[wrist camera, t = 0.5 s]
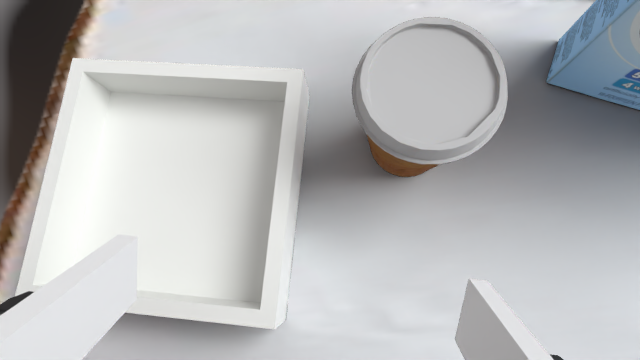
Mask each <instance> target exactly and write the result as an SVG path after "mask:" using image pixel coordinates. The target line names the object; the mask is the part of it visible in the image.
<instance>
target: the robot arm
mask: <svg viewBox="0 0 640 360" xmlns="http://www.w3.org/2000/svg"><path fill="white" fill-rule="evenodd" d="M137 252H138V237H135V236H127V235H119V234H118V235H117V236H115V237H114V238H112V239H111V240H109V241H108V242H107V243H105V244H104V245H102V246H101V247H99V248H98V249H96V250H95V251H94V252H92V253H91V254H89V255H88V256H86V257H85V258H83V259H82V260H80V261H79V262H78V263H76V264H75V265H73V266H72V267H70V268H69V269H67V270H66V271H64V272H63V273H62V274H60V275H59V276H57V277H56V278H54V279H53V280H51V281H50V282H48V283H47V284H46V285H44V286H43V287H41V288H40V289H38V290H37V291H35V292H32V291H28V292H25V293H23V294H20V295H18V296H15V297H13V298H10V299H8V300H7V301H5V302H4V303H2V304H0V360H82V359H83V358H84V357H85V356H86V355H87V353H88V352H89V351H90V350H91V349H92V348H93V347H94V346H95V345H96V344H97V343H98V341H99V340H100V339H101V338H102V337H103V336H104V335H105V334H106V333H107V332H108V331H109V329H110V328H111V327H112V326H113V325H114V324H115V323H116V322H117V321H118V320H119V318H120V317H121V316H122V315H123V314H124V313H125V312H126V311H127V310H128V309H129V308H130V306H131V305H132V304H133V303H134V302H135V301H136V300H137ZM455 341H456V343H457V345H458V347H459V349H460V351H461V353H462V355H463V357H464V359H465V360H563V359H562V358H561V357H559V356H558V355H550V354H549V353H548V352H547V351H546V350H545V349H544V347H543V346H542V345H541V344H540V343H539V341H538V340H537V339H536V338H535V337H534V335H533V334H532V333H531V332H530V330H529V329H528V328H527V327H526V326H525V324H524V323H523V322H522V321H521V320H520V318H519V317H518V316H517V315H516V314H515V312H514V311H513V310H512V309H511V308H510V306H509V305H508V304H507V303H506V302H505V300H504V299H503V298H502V297H501V296H500V294H499V293H498V292H497V291H496V290H495V288H494V287H493V286H492V285H491V284H490V282H489V281H487V280H479V279H471V278H469V280H468V284H467V288H466V293H465V297H464V301H463V306H462V310H461V314H460V319H459V323H458V327H457V332H456V336H455Z"/></svg>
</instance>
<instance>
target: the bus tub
mask: <svg viewBox="0 0 640 360" xmlns="http://www.w3.org/2000/svg"><path fill="white" fill-rule="evenodd" d="M309 98H310V94H309V90H308V86H307V82H306V78H305V74H304V69H289V68H268V67H247V66H227V65H206V64H185V63H165V62H144V61H123V60H102V59H82V58H73V59H72V64H71V68H70V72H69V76H68V80H67V84H66V88H65V92H64V96H63V101H62V105H61V109H60V113H59V117H58V121H57V125H56V129H55V133H54V137H53V142H52V146H51V150H50V154H49V158H48V162H47V166H46V170H45V174H44V179H43V183H42V187H41V191H40V195H39V199H38V203H37V207H36V211H35V216H34V220H33V224H32V228H31V232H30V236H29V240H28V244H27V248H26V252H25V257H24V261H23V265H22V269H21V273H20V277H19V281H18V285H17V289H16V294H15V296H18V295H20V294H23V293H25V292H28V291H32V292H35V291H37V290H38V289H40V288H41V287H43V286H44V285H46V284H47V283H48V282H50V281H51V280H53V279H54V278H56V277H57V276H59V275H60V274H62V273H63V272H64V271H66V270H67V269H69V268H70V267H72V266H73V265H75V264H76V263H78V262H79V261H80V260H82V259H83V258H85V257H86V256H88V255H89V254H91V253H92V252H94V251H95V250H96V249H98V248H99V247H101V246H102V245H104V244H105V243H107V242H108V241H109V240H111V239H112V238H114V237H115V236H117V235H118V234H119V235H127V236H135V237H138V252H137V300H136V301H135V302H134V303H133V304H132V305H131V306H130V308H129V309H128V310H127V311H126V312H125V313H134V314H143V315H152V316H160V317H169V318H178V319H187V320H196V321H205V322H213V323H222V324H231V325H240V326H249V327H258V328H267V329H276V328H277V327H278V326H279V325H280V324H282V323H283V322H284V321H285V320H286V316H287V306H288V297H289V288H290V278H291V269H292V259H293V250H294V240H295V231H296V221H297V212H298V202H299V193H300V183H301V174H302V164H303V155H304V145H305V136H306V126H307V117H308V107H309Z"/></svg>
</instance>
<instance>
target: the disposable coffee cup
mask: <svg viewBox="0 0 640 360" xmlns="http://www.w3.org/2000/svg"><path fill="white" fill-rule="evenodd" d="M352 98H353V105H354V109H355V113H356V117H357V118H358V120H359V122H360V124H361V126H362V127H363V129H364V131H365V133H366V134H367V137H368V141H369V145H370V148H371V152H372V155H373V157H374V159H375V160H376V162H377V163H378V164H379V165H380V166H381V167H382V168H383V169H384V170H385V171H387V172H389V173H391V174H393V175H397V176H401V177H411V176H416V175H419V174H422V173H424V172H425V171H427V170H429V169H431V168H433V167H435V166H437V165H439V164H444V163H449V162H453V161H457V160H460V159H463V158H465V157H467V156H469V155H471V154H472V153H474V152H475V151H477V150H478V149H480V148H481V147H482V146H484V145H485V144H486V143H487V142H488V141H489V140H490V139H491V138H492V136H493V135H494V134H495V132H496V131H497V130H498V128H499V126H500V124H501V122H502V120H503V118H504V114H505V111H506V106H507V100H508V93H507V77H506V72H505V67H504V64H503V62H502V60H501V57H500V55H499V53H498V52H497V51H496V49H495V48H494V46H493V45H492V44H491V42H490V41H489V40H488V39H486V38H485V37H484V36H483V35H482V34H481V33H480V32H478V31H477V30H475V29H474V28H472V27H470V26H468V25H466V24H464V23H462V22H458V21H455V20H451V19H448V18H440V17H424V18H417V19H413V20H410V21H406V22H403V23H401V24H399V25H397V26H395V27H393V28H392V29H390V30H389V31H387V32H386V33H384V34H383V35H382V36H381V37H380V38H379V39H378V40H377V41H375V42H374V43H373V44H372V45H371V46H370V47H369V48H368V50H367V51H366V52H365V53H364V55H363V56H362V58H361V60H360V62H359V64H358V66H357V68H356V71H355V74H354V78H353V85H352Z"/></svg>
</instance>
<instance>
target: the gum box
mask: <svg viewBox="0 0 640 360" xmlns="http://www.w3.org/2000/svg"><path fill="white" fill-rule="evenodd" d="M546 82H547V83H549V84H553V85H556V86H560V87H563V88H566V89H569V90H573V91H576V92H580V93H583V94H586V95H589V96H593V97H596V98H600V99H603V100H606V101H610V102H613V103H617V104H620V105H624V106H627V107H631V108H634V109H638V110H640V0H596V1H595V2H594V3H593V4H592V5H591V6H590V8H589V9H588V10H587V11H586V12H585V13H584V14H583V15H582V16H581V17H580V18H579V19H578V20H577V21H576V22H575V23H574V25H573V26H572V27H571V28H570V29H569V30H568V31H567V32H566V33H565V34H564V35H563V36H562V37H561V38H560V39H559V41H558V45H557V48H556V52H555V55H554V58H553V62H552V65H551V68H550V71H549V74H548V77H547V81H546Z"/></svg>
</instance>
